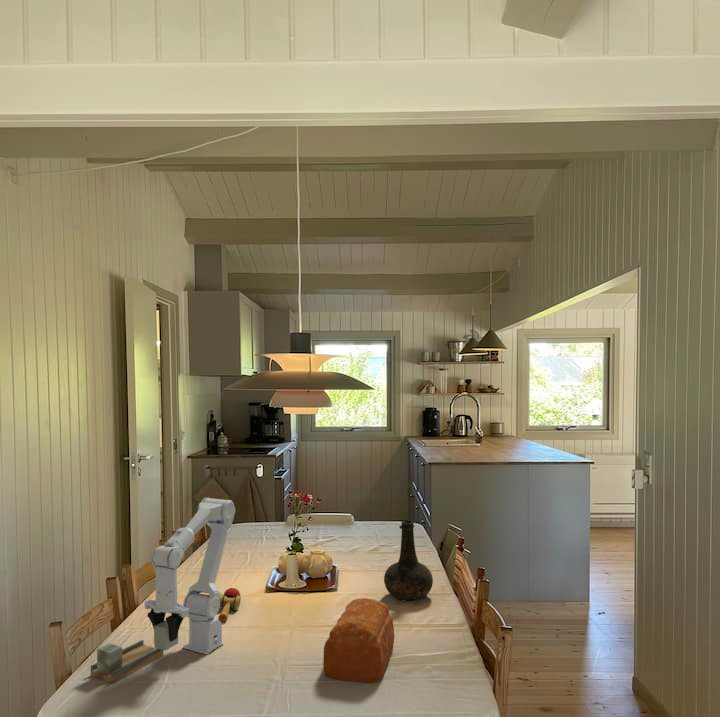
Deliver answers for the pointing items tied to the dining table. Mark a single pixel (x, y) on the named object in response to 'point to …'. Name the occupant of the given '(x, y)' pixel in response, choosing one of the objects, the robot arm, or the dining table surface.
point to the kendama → (229, 602)
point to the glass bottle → (408, 570)
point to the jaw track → (122, 660)
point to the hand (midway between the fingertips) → (166, 638)
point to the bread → (360, 642)
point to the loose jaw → (163, 637)
